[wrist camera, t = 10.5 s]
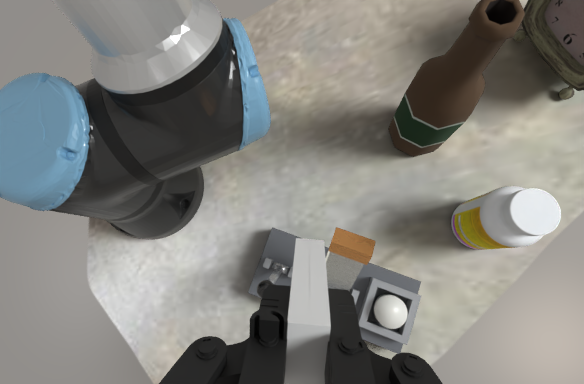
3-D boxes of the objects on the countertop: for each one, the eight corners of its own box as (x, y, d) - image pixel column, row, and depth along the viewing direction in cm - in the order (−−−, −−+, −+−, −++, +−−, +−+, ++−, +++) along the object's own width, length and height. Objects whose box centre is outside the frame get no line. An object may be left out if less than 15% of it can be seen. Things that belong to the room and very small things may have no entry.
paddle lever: (345, 302, 40) (371, 256, 31) (314, 290, 41) (331, 241, 31) (348, 289, 41) (375, 241, 32) (318, 278, 42) (336, 227, 32)
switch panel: (394, 347, 42) (403, 359, 37) (252, 290, 45) (244, 294, 40) (414, 280, 43) (425, 282, 38) (275, 229, 46) (269, 226, 42)
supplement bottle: (482, 260, 43) (546, 261, 30) (439, 228, 44) (484, 216, 32) (511, 221, 44) (586, 206, 31) (468, 190, 45) (524, 164, 32)
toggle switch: (286, 276, 42) (269, 305, 34) (272, 270, 42) (251, 298, 35) (290, 262, 42) (274, 288, 34) (276, 256, 42) (256, 281, 34)
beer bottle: (384, 155, 47) (443, 53, 24) (389, 105, 48) (450, -37, 25) (440, 161, 46) (559, 61, 23) (444, 110, 47) (559, -33, 24)
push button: (398, 330, 39) (402, 333, 37) (368, 318, 39) (371, 321, 37) (407, 300, 39) (411, 302, 37) (378, 289, 40) (380, 291, 38)
